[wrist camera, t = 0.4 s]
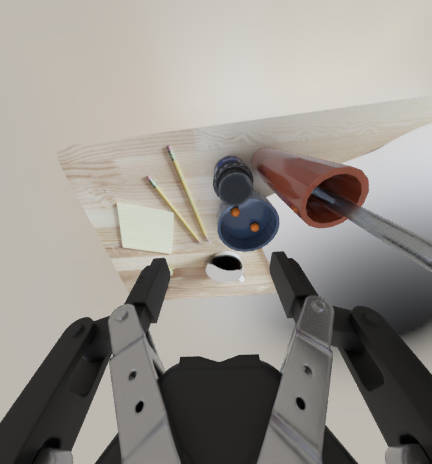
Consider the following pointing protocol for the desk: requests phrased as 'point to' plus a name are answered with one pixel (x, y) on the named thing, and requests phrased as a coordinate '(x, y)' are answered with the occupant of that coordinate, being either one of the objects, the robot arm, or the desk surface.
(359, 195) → the crock
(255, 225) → the bead
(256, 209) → the bowl
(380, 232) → the ladle
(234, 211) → the bead
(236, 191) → the pill bottle
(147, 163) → the desk surface
